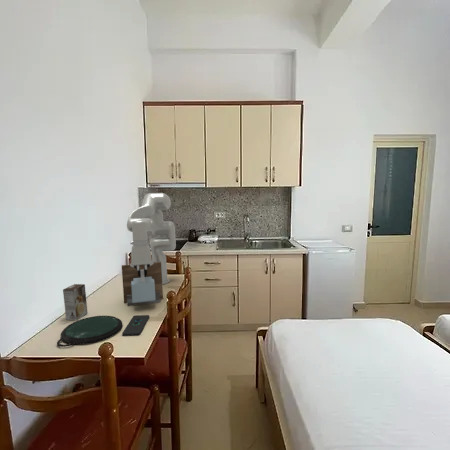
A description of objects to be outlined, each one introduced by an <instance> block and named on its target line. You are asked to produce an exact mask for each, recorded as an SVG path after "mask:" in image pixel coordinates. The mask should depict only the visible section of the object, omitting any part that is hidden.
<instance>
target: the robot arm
mask: <svg viewBox="0 0 450 450" xmlns="http://www.w3.org/2000/svg"><path fill="white" fill-rule="evenodd" d="M142 199H143V200H142V202H141V204H140V207H138V208H136V209H134V210H133V211H131V213H130V214H129V216H128V219H127V222H126V229H127V230H128V232H130V233H132V241H130V242H129V244H130V245H132V246H131V253H130V255H131V260H130V264H129V265H130V266H131V267H134V268H135V269H137V270H138V276H139V278H140V277H141V272H140V268H139V265H145V268H144V277H146V275H147V268H148V267H149V266H151V265H153V264H154V263H153V262H161V269H162V285H166V284H168V282H171V280H170V278H168V267H167V255H166V254H165V253H164V252H173V251H175V250H176V247H177V244H176V243H177V241H176V225H175V223H174V222H173V221H171V220H169V221H168V220H166V221H164V213H163V211H162V210H169V209H170V208H171V206H172V201H171V198H170V196H168V195H167V194H166V193H164V192H149V193H146V194H145V195H144V197H143V198H142ZM148 232H151V234H152V235H153V236H155V237H152V238H151V239H150V241H149V242H148ZM156 236H158V237H156ZM160 236H161V237H160ZM148 243H149V244H148ZM136 265H137V266H136Z"/></svg>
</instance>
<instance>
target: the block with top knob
mask: <svg viewBox="0 0 450 450" xmlns="http://www.w3.org/2000/svg"><path fill="white" fill-rule="evenodd" d="M140 272H141V278H133V281H131V288H132V303H137V302H145V301H153V300H156V299H155V282H154V279H152V276H151V277H144V269H143V270H140Z"/></svg>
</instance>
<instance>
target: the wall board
mask: <svg viewBox="0 0 450 450" xmlns="http://www.w3.org/2000/svg"><path fill="white" fill-rule="evenodd" d="M153 263H154V264H153V265H151V266H149V267H148V268H147V275H146V277H151V276H152V279H154V282H155V299H156V300H153V301H145V302H137V303H132V288H131V281H133V278H139V276H138V270H137V269H135V268H134V267H131V266H130V264H121V277H122V291H123V292H122V293H123V294H122V295H123V303H124V304H127V307H131V306H139V305H150V304H157V303H161V300H163V299H164V294H163V293H164V292H163V284H162V269H161V262H153ZM136 266H137V265H136ZM139 268H140V270H143V269H144V268H145V265H139ZM140 278H141V277H140Z"/></svg>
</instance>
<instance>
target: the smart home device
mask: <svg viewBox="0 0 450 450" xmlns="http://www.w3.org/2000/svg"><path fill="white" fill-rule="evenodd" d="M149 319H150V315H149V314H143V315H142V314H141V315H133V316H132V317H131V319H130V320H129V322H128V324H127V325H126V327H125V328H124V330H122V333H121V335H122V337H134V336H135V337H136V336H137V337H138V336H140V335H141V334H142V332H143V331H144V329H145V327H146V325H147V322H148V321H149Z"/></svg>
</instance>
